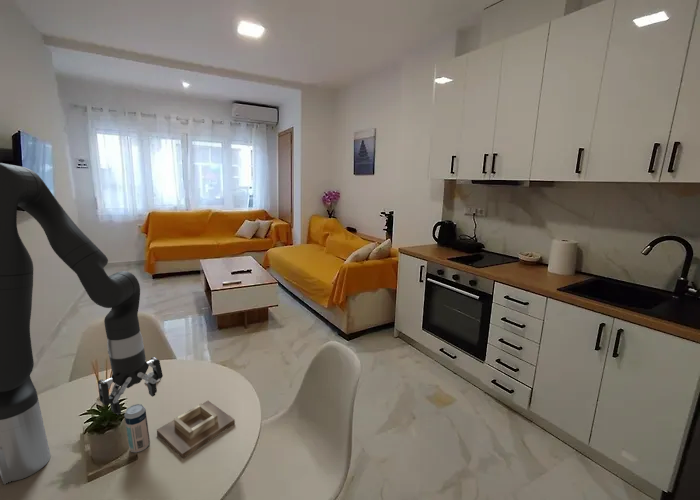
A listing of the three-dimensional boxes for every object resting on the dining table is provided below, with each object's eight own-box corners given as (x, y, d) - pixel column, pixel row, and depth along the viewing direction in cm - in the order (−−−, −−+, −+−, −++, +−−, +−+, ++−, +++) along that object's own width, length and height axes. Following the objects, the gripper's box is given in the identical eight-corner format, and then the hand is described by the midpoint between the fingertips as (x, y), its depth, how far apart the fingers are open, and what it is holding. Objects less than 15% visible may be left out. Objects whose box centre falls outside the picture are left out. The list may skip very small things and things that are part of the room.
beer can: (154, 440, 95) (149, 403, 92) (142, 454, 90) (136, 416, 87) (137, 439, 95) (132, 402, 92) (125, 452, 91) (119, 414, 88)
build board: (182, 458, 89) (181, 446, 88) (157, 434, 97) (155, 422, 96) (234, 423, 102) (234, 412, 101) (208, 404, 110) (207, 393, 109)
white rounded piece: (156, 375, 125) (142, 382, 121) (155, 368, 124) (141, 374, 120) (164, 379, 122) (150, 386, 118) (163, 372, 122) (149, 379, 117)
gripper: (100, 367, 79) (111, 426, 83) (162, 342, 90) (169, 394, 94) (87, 357, 83) (99, 413, 87) (148, 334, 94) (156, 384, 98)
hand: (135, 403), depth 90 cm, fingers open, 8 cm apart
